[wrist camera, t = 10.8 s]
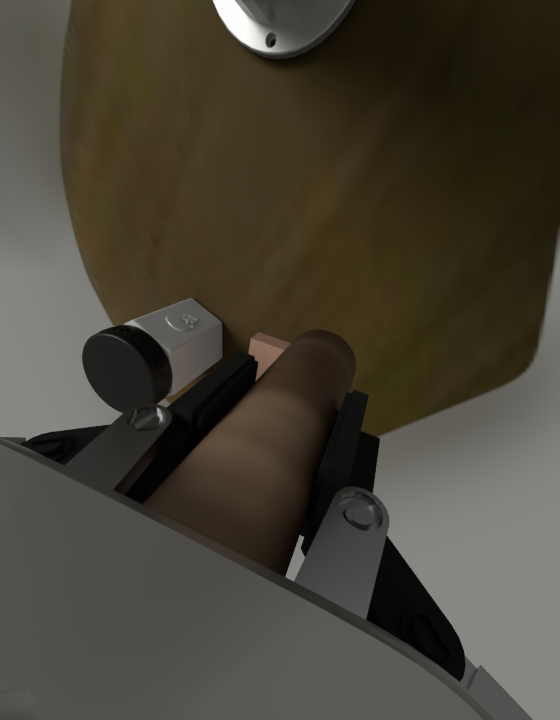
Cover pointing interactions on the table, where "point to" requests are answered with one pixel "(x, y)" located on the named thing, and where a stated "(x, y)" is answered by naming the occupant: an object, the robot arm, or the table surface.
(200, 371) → the jar
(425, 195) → the table surface
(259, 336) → the tile
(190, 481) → the stick
